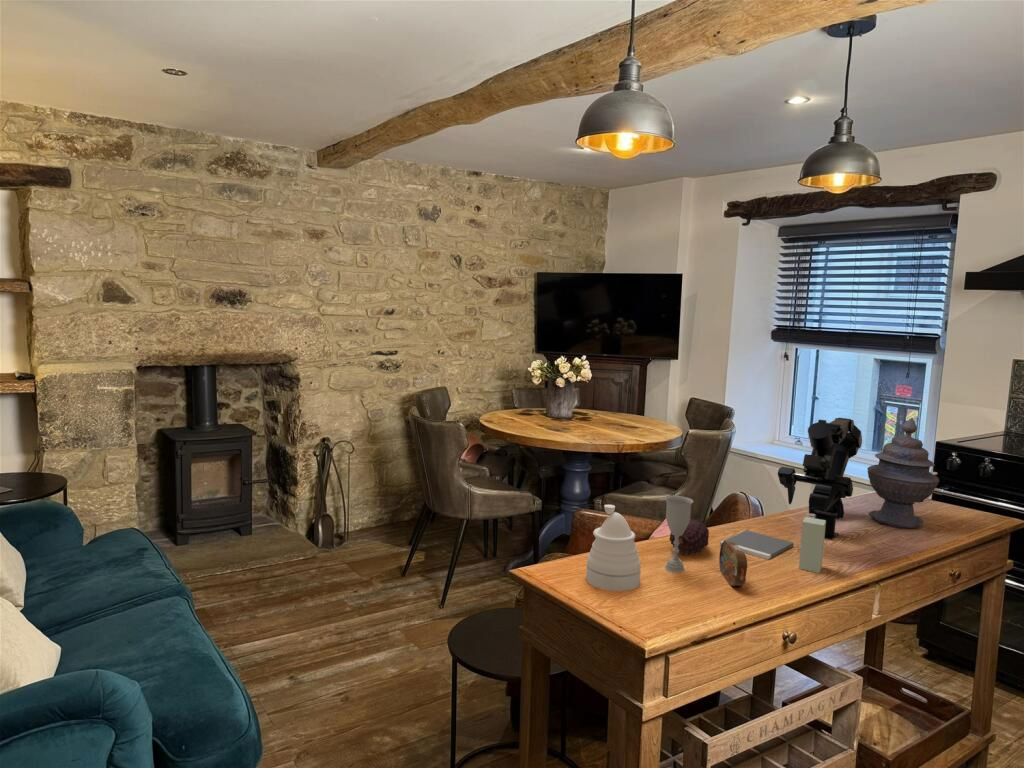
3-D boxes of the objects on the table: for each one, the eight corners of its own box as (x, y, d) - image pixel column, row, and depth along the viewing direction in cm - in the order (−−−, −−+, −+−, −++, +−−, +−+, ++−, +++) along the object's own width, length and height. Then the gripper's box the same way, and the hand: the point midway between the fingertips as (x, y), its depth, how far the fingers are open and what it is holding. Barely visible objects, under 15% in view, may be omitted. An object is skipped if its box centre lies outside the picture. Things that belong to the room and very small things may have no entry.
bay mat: (746, 533, 208) (746, 530, 208) (793, 546, 199) (793, 542, 198) (719, 545, 197) (719, 542, 197) (767, 559, 187) (768, 555, 187)
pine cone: (680, 538, 202) (702, 512, 200) (705, 563, 196) (728, 537, 194) (651, 535, 189) (674, 508, 186) (677, 563, 183) (701, 534, 180)
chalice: (655, 565, 180) (659, 496, 178) (677, 562, 183) (681, 494, 181) (672, 575, 174) (676, 504, 172) (694, 572, 176) (699, 502, 174)
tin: (717, 567, 180) (719, 535, 180) (729, 568, 180) (732, 536, 179) (733, 591, 166) (736, 557, 165) (747, 592, 165) (750, 557, 164)
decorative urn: (844, 512, 230) (864, 409, 225) (889, 512, 237) (909, 412, 233) (897, 535, 212) (920, 423, 207) (943, 534, 219) (966, 425, 214)
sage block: (801, 562, 186) (805, 516, 184) (821, 566, 183) (826, 520, 182) (798, 568, 181) (802, 521, 180) (819, 573, 179) (823, 525, 177)
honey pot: (575, 580, 169) (579, 507, 167) (604, 566, 179) (608, 497, 177) (621, 596, 161) (626, 519, 159) (649, 580, 171) (654, 508, 169)
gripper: (782, 438, 197) (767, 484, 190) (854, 448, 186) (841, 497, 179) (788, 461, 204) (773, 506, 197) (858, 472, 193) (845, 520, 186)
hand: (807, 507), depth 189 cm, fingers open, 9 cm apart
